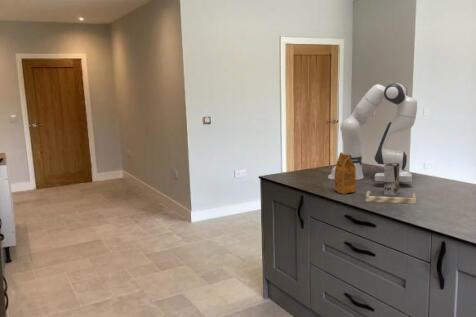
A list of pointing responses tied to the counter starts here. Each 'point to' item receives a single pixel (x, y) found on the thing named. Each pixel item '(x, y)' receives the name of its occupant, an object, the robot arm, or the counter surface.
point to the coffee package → (345, 174)
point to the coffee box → (391, 179)
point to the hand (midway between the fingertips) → (392, 180)
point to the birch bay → (390, 199)
